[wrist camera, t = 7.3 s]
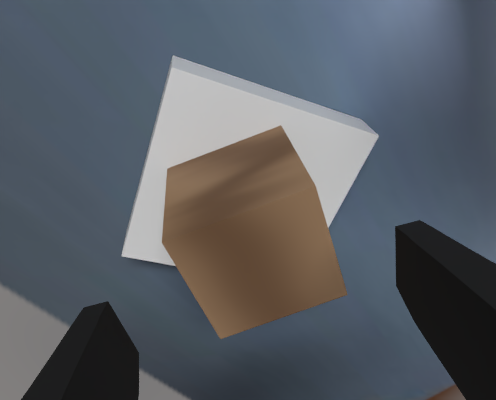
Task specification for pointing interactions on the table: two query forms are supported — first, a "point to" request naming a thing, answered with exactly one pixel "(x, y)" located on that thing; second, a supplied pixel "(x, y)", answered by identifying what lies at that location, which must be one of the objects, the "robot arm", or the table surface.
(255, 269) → the walnut cube
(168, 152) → the white slab
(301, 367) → the table surface
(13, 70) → the table surface
